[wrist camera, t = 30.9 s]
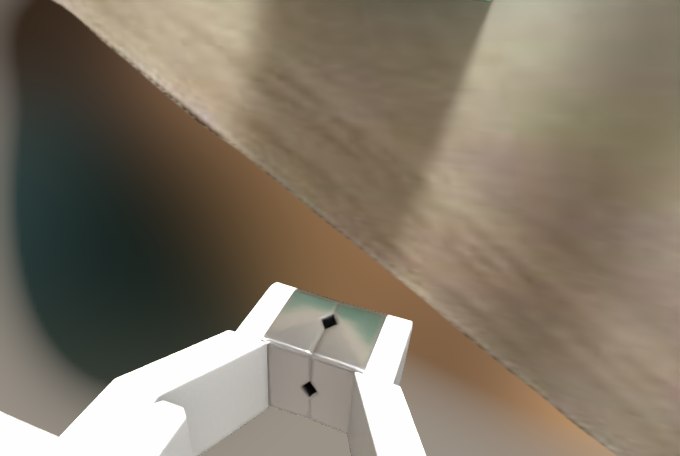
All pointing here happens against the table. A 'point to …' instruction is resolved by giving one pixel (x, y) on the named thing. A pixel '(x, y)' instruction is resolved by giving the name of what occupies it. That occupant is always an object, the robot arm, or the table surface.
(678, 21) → the table surface
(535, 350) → the table surface
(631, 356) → the table surface
